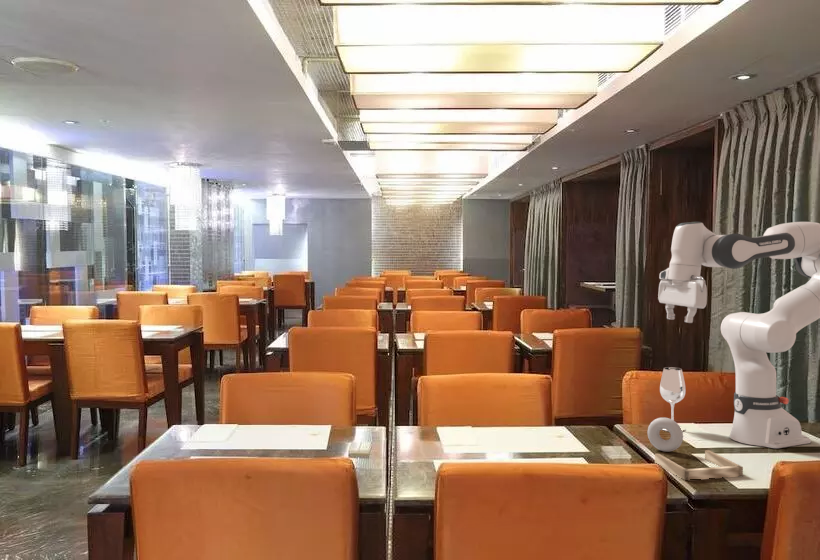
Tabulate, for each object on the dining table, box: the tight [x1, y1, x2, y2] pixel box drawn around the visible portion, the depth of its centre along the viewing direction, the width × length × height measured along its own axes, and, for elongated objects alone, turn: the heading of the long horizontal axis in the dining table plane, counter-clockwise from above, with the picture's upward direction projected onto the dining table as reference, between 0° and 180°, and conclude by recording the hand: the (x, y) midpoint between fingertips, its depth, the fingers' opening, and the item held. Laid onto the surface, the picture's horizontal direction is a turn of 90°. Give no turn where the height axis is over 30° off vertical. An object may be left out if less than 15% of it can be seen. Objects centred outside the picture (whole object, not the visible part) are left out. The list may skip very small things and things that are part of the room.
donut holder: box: [654, 449, 744, 481], centre depth 175 cm, size 16×14×2 cm
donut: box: [646, 417, 684, 453], centre depth 190 cm, size 10×4×10 cm, turn 54°
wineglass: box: [659, 366, 686, 432], centre depth 213 cm, size 8×8×20 cm
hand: (679, 320), depth 196 cm, fingers open, 8 cm apart
